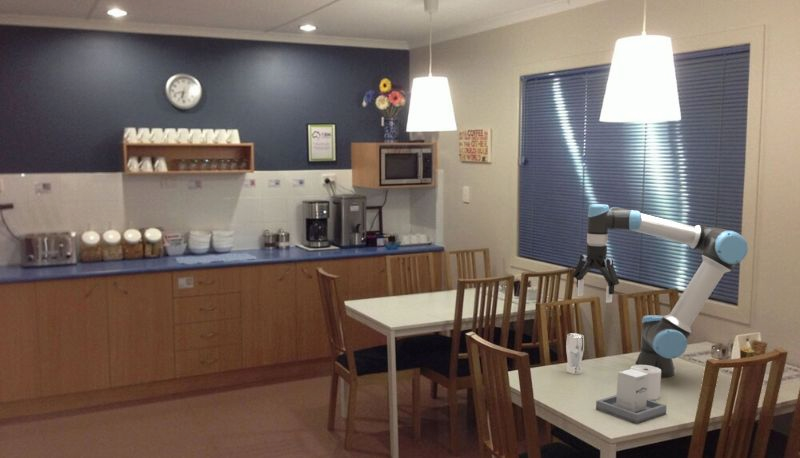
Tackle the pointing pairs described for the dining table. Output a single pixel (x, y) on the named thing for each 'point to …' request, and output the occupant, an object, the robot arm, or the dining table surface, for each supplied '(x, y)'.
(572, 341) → the beer glass
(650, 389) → the toilet tissue
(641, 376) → the supplement box
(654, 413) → the holder tray
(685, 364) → the dining table surface
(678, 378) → the dining table surface
